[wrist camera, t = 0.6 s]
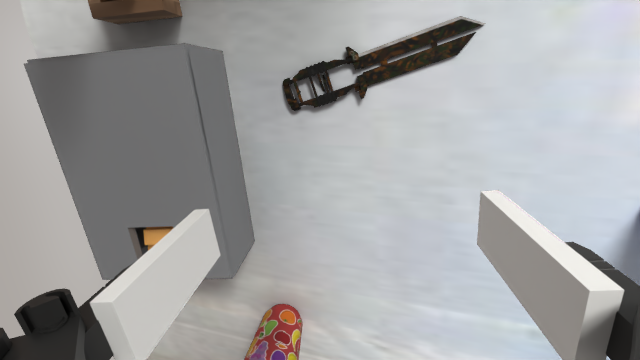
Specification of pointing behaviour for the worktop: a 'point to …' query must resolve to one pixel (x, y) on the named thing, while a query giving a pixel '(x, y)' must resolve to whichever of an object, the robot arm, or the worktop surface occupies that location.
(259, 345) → the smoothie
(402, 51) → the knife
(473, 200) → the worktop surface
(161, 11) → the square wooden socket
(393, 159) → the worktop surface
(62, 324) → the robot arm
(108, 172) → the box
